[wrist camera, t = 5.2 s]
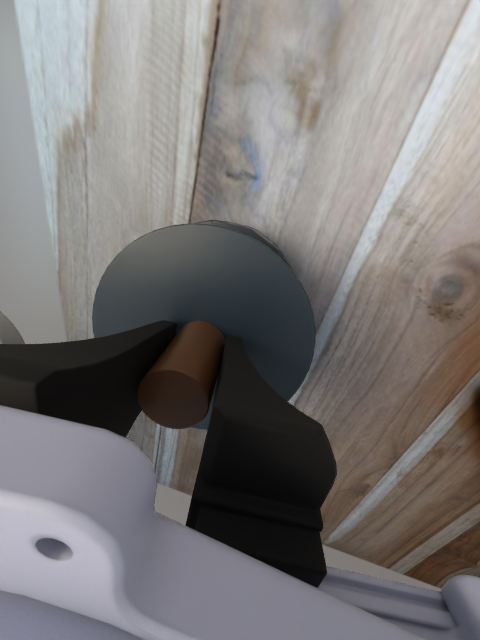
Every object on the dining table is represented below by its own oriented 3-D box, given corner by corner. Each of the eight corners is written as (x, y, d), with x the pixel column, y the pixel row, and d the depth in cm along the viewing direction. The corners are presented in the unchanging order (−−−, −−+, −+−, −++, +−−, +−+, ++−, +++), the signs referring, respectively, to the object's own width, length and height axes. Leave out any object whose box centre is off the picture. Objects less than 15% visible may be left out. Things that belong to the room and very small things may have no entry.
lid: (103, 393, 15) (26, 476, 10) (106, 198, 11) (-19, 176, 6) (278, 433, 15) (286, 535, 10) (343, 254, 11) (411, 278, 6)
